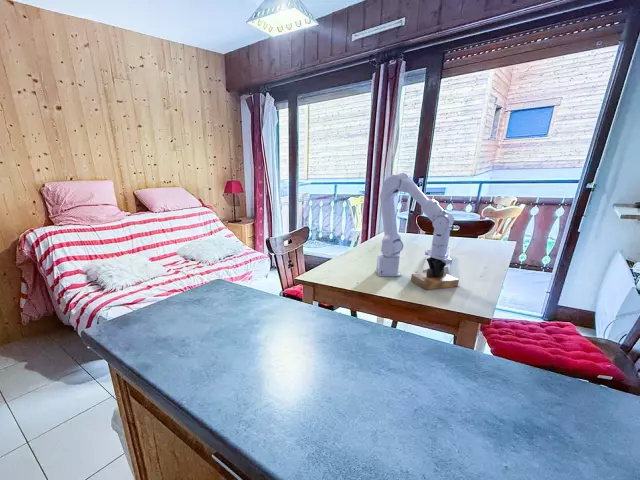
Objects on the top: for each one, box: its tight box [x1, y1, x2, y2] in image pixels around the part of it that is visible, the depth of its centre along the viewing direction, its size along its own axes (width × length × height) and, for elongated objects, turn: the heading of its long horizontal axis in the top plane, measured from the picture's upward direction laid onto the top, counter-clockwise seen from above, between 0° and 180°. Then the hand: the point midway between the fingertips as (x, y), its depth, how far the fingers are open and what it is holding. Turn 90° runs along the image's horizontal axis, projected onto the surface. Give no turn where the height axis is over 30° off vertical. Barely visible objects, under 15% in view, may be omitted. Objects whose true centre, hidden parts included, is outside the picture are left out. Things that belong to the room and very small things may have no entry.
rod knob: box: [426, 268, 444, 278], centre depth 136 cm, size 6×2×4 cm, turn 97°
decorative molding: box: [422, 246, 451, 275], centre depth 159 cm, size 34×5×10 cm
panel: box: [410, 272, 460, 291], centre depth 138 cm, size 14×11×3 cm
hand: (434, 275), depth 137 cm, fingers closed on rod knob, 2 cm apart
